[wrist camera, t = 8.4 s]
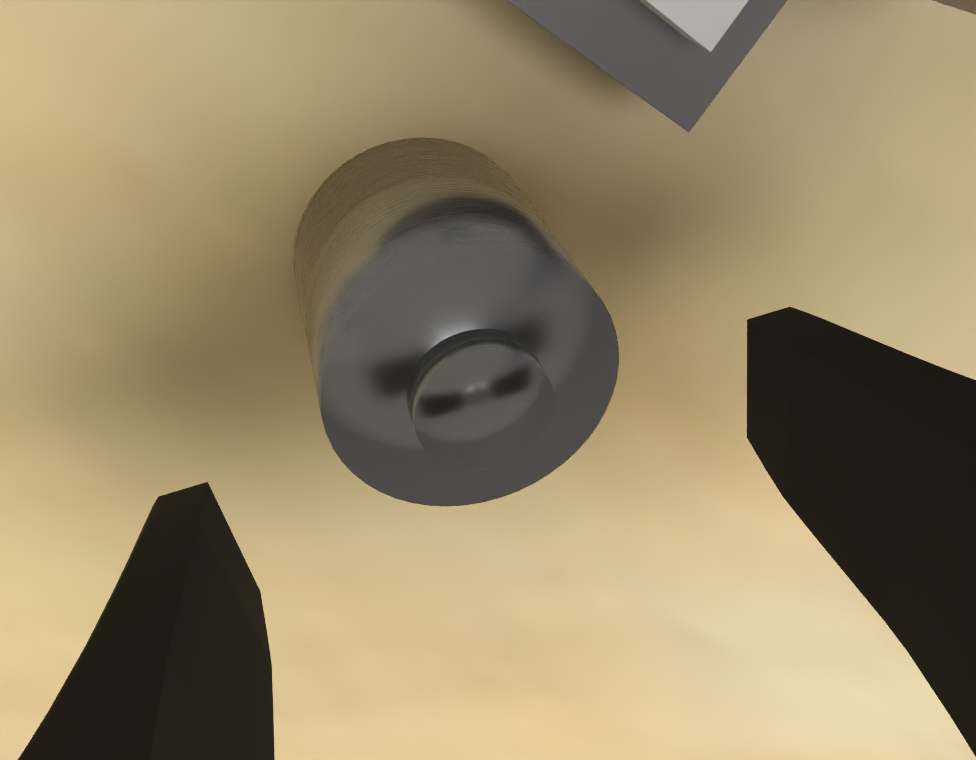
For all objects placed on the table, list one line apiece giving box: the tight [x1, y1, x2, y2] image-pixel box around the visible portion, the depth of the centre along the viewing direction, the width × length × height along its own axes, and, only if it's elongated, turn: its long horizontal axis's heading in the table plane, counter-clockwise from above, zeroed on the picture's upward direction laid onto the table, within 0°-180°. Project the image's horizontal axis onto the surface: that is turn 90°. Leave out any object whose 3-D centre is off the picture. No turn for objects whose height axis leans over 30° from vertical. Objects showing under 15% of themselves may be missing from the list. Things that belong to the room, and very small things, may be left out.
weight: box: [294, 138, 619, 506], centre depth 15 cm, size 4×4×5 cm
